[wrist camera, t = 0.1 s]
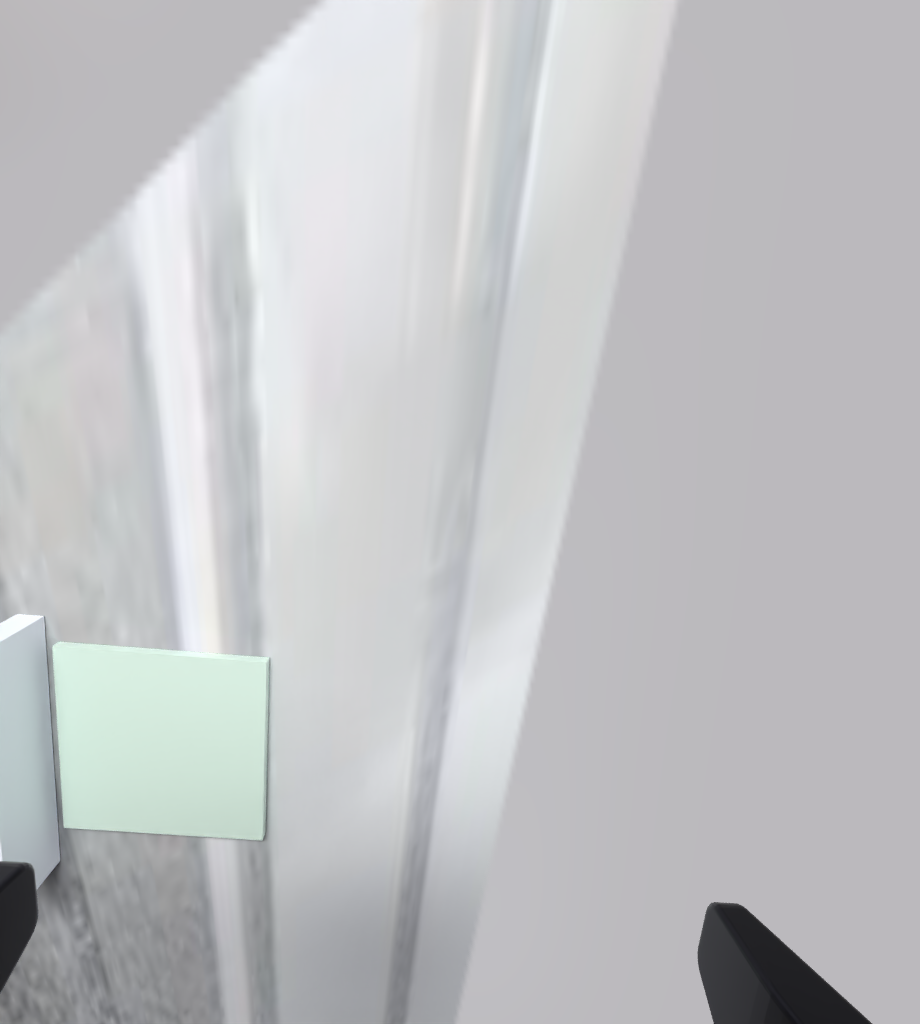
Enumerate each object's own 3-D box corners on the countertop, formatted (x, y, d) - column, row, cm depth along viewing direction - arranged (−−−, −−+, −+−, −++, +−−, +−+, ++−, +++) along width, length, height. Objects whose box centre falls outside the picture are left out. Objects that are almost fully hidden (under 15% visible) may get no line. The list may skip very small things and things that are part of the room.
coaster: (265, 833, 25) (262, 840, 24) (69, 820, 24) (63, 827, 24) (269, 657, 23) (266, 662, 22) (59, 641, 23) (52, 646, 22)
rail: (60, 860, 25) (8, 925, 22) (36, 859, 25) (-20, 923, 22) (44, 616, 22) (-18, 651, 19) (16, 614, 22) (-49, 649, 19)
